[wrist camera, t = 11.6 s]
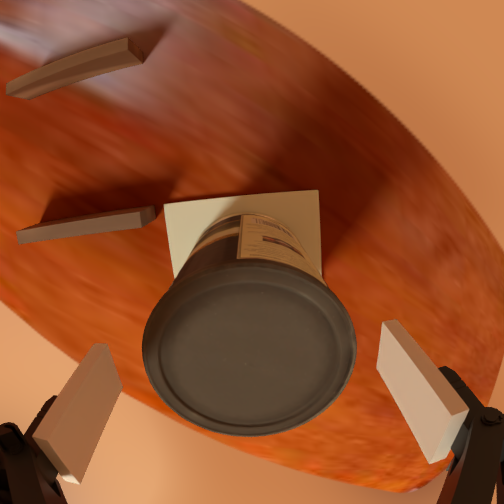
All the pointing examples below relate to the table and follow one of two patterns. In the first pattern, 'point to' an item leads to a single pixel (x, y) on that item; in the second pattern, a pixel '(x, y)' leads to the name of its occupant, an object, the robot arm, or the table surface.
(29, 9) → the table surface
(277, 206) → the mat
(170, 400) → the coffee can
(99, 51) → the wooden bars
